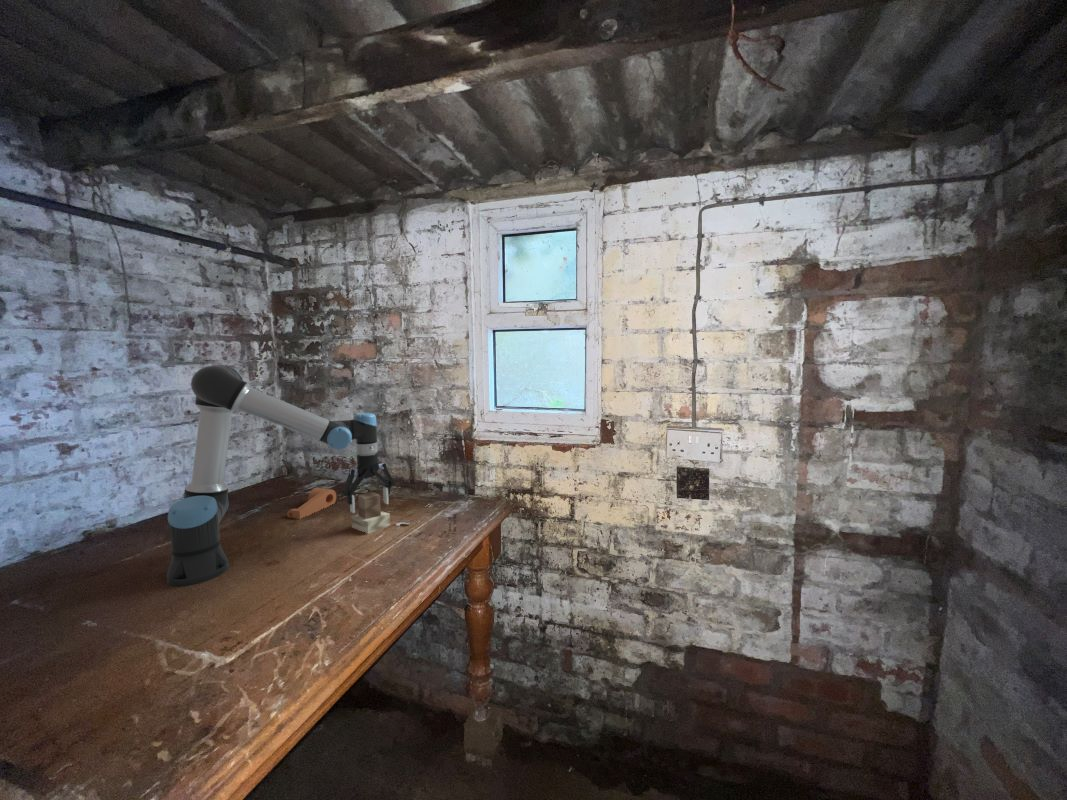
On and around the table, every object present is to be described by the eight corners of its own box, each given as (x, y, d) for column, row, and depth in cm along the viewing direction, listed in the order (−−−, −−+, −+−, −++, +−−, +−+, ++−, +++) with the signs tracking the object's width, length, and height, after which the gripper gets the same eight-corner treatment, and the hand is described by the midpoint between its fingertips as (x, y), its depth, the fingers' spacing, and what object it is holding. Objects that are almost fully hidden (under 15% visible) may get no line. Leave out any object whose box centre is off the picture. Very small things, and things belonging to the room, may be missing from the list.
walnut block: (365, 519, 162) (364, 498, 162) (359, 515, 167) (358, 495, 166) (380, 515, 167) (379, 495, 166) (374, 511, 171) (373, 491, 170)
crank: (322, 502, 195) (321, 485, 195) (336, 504, 193) (335, 487, 192) (285, 518, 177) (283, 499, 176) (300, 520, 174) (298, 501, 173)
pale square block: (368, 534, 160) (367, 522, 160) (352, 529, 166) (351, 516, 165) (390, 525, 169) (389, 513, 168) (374, 520, 174) (373, 508, 174)
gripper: (337, 461, 153) (341, 518, 155) (401, 449, 170) (403, 502, 172) (330, 457, 158) (333, 513, 160) (392, 447, 175) (395, 497, 178)
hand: (369, 507), depth 166 cm, fingers open, 13 cm apart
